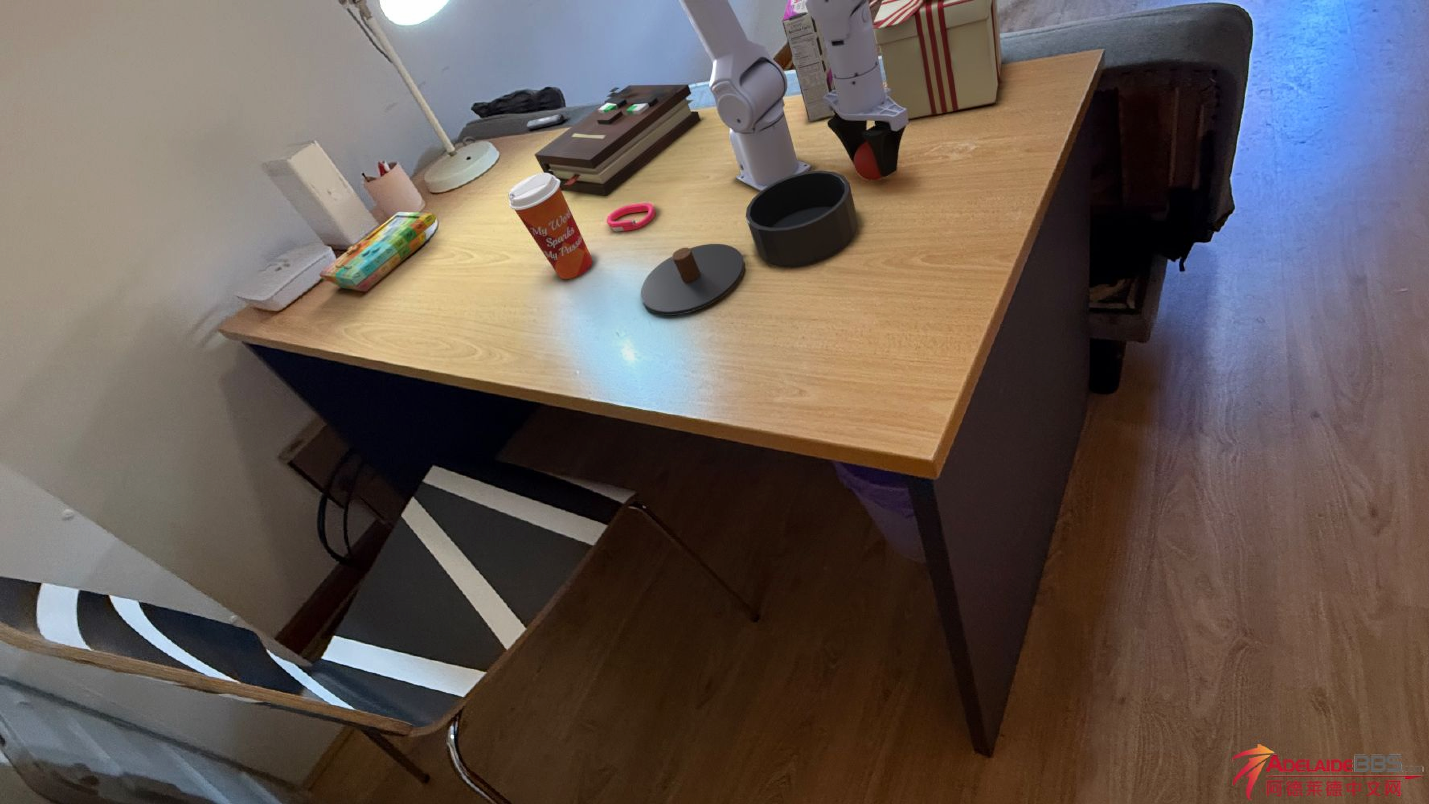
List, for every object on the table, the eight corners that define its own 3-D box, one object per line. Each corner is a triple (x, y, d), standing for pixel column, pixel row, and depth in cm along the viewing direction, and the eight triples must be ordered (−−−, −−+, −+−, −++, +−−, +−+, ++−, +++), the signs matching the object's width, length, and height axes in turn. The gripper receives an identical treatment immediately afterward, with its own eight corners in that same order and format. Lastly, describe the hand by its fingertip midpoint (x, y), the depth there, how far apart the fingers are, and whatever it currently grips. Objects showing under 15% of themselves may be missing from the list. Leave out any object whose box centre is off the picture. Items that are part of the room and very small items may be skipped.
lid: (627, 291, 98) (613, 263, 95) (712, 238, 100) (701, 209, 97) (672, 333, 87) (657, 303, 84) (766, 273, 90) (755, 242, 87)
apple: (850, 182, 99) (840, 140, 95) (879, 163, 100) (871, 121, 96) (874, 191, 95) (865, 149, 91) (904, 172, 96) (897, 129, 92)
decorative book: (518, 156, 128) (631, 75, 140) (538, 193, 133) (646, 111, 145) (581, 163, 116) (699, 73, 128) (601, 204, 121) (713, 113, 133)
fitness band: (603, 233, 113) (599, 225, 112) (619, 212, 116) (615, 204, 115) (646, 229, 109) (642, 220, 108) (661, 207, 112) (658, 199, 111)
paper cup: (561, 290, 104) (512, 207, 95) (546, 271, 110) (499, 191, 101) (607, 263, 105) (562, 178, 96) (590, 246, 111) (547, 164, 102)
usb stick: (527, 131, 162) (524, 125, 161) (532, 125, 163) (529, 119, 162) (560, 124, 157) (557, 117, 156) (566, 118, 159) (562, 112, 158)
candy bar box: (812, 94, 124) (788, -7, 113) (841, 86, 122) (819, -16, 111) (807, 123, 116) (780, 19, 106) (837, 116, 114) (813, 9, 104)
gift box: (881, 85, 117) (861, -29, 106) (1002, 57, 110) (994, -68, 99) (871, 135, 106) (847, 14, 95) (1005, 108, 99) (997, -27, 88)
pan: (740, 246, 96) (727, 211, 93) (818, 197, 99) (808, 161, 95) (794, 280, 87) (782, 242, 83) (879, 225, 89) (871, 186, 85)
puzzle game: (315, 270, 130) (396, 207, 140) (332, 290, 133) (411, 228, 143) (347, 275, 123) (430, 209, 133) (364, 296, 126) (444, 230, 136)
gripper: (921, 59, 83) (935, 165, 92) (845, 46, 93) (864, 142, 102) (873, 88, 81) (892, 193, 90) (801, 71, 92) (825, 166, 101)
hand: (875, 168), depth 96 cm, fingers open, 5 cm apart
